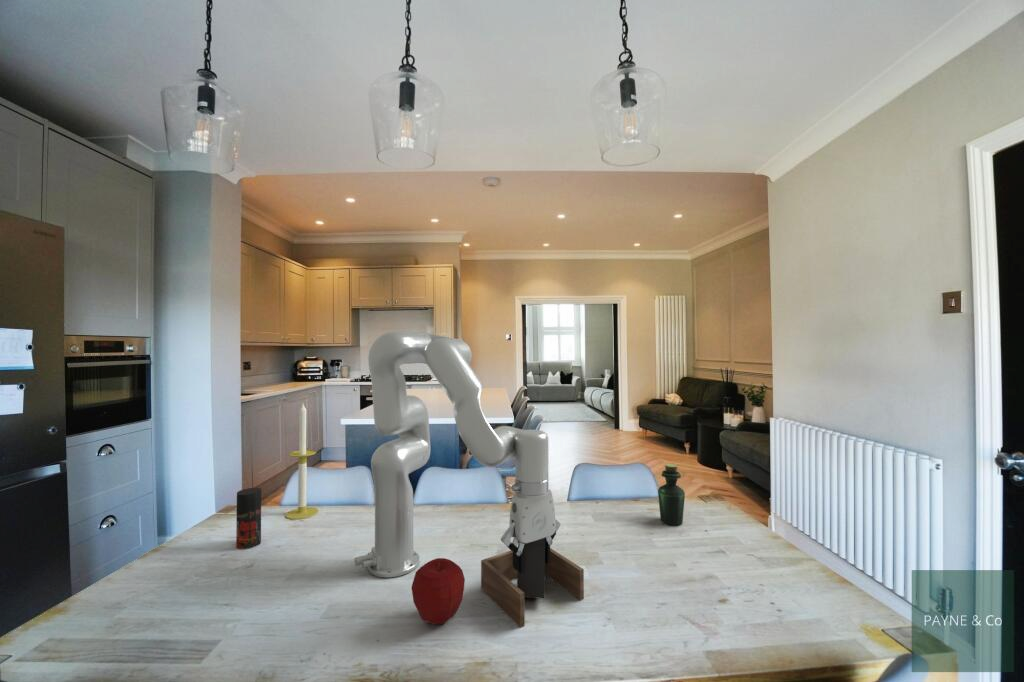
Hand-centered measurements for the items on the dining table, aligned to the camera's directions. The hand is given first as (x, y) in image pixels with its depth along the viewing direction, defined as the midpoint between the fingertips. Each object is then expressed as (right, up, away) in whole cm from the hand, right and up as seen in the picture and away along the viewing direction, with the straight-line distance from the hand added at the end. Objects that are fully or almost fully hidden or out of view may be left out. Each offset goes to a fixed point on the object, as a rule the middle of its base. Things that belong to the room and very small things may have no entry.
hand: (531, 565), depth 93 cm
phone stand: (0, -5, 0) cm, 5 cm away
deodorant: (-79, -7, +24) cm, 83 cm away
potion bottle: (+47, -7, +39) cm, 61 cm away
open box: (0, -7, 0) cm, 7 cm away
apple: (-20, -7, -8) cm, 22 cm away
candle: (-75, -8, +46) cm, 89 cm away
